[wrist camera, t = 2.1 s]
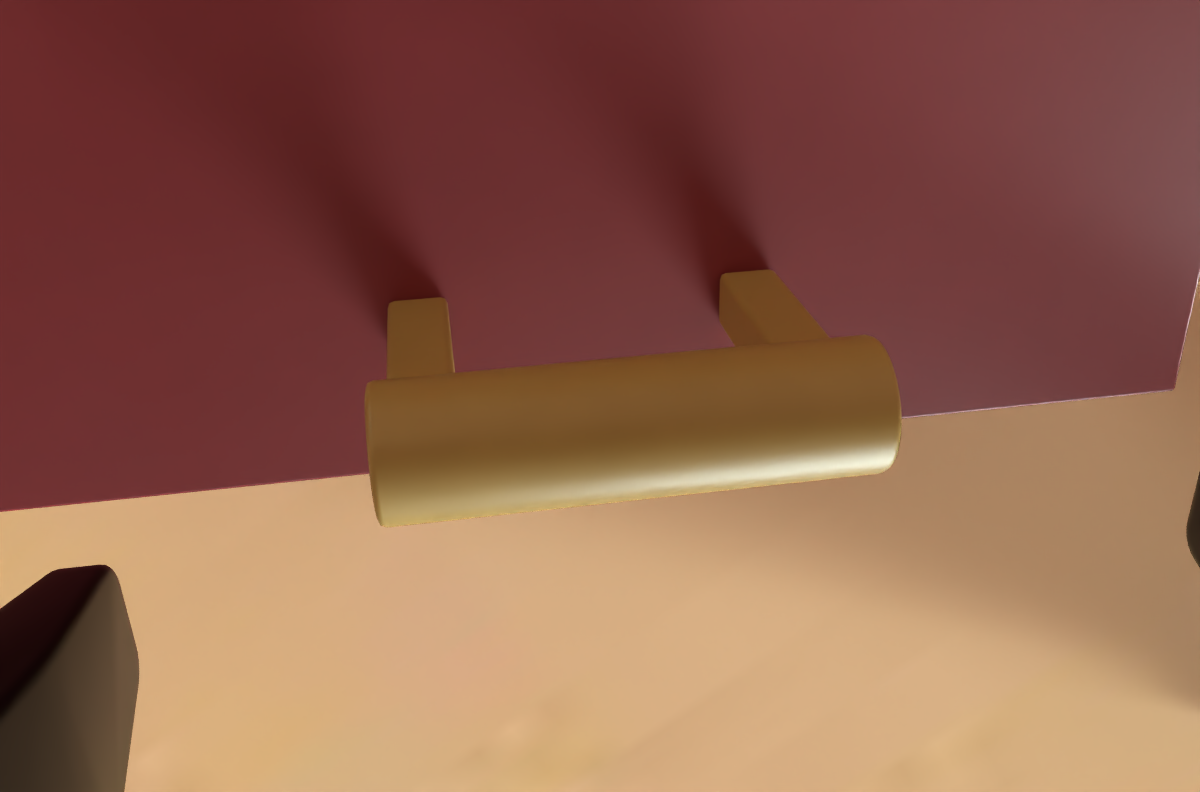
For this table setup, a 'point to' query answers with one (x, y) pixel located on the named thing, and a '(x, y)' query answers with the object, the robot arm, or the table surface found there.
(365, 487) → the table surface
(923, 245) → the cover
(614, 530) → the table surface
